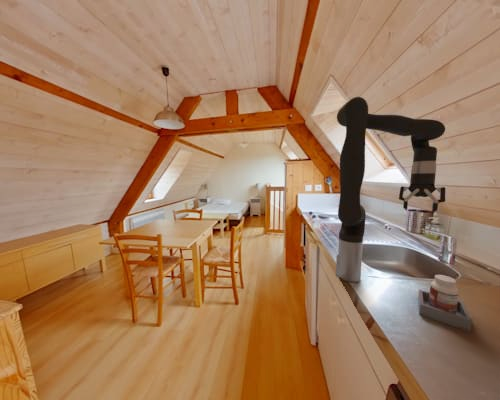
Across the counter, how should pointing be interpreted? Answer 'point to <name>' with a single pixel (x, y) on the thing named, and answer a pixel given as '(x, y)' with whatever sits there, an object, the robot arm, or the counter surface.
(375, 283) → the counter surface
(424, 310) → the charcoal bin
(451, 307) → the pill bottle
